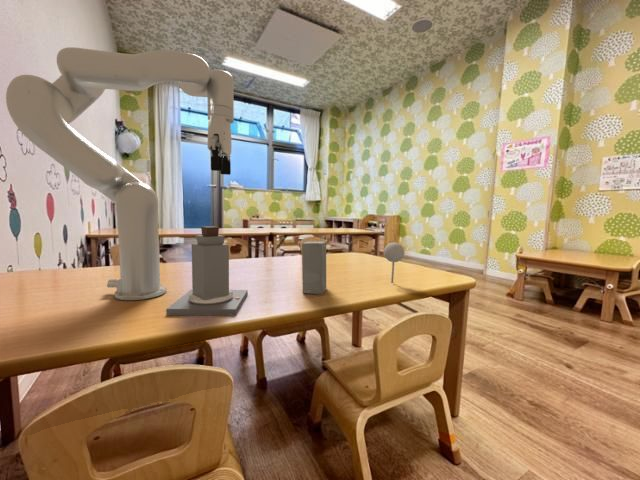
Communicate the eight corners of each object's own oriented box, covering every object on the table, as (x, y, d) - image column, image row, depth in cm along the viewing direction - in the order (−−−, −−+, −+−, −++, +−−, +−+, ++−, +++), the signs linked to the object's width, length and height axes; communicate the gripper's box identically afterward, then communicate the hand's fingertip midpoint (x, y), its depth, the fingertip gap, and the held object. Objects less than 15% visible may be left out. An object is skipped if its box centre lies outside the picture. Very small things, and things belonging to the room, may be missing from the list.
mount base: (166, 315, 66) (166, 304, 66) (191, 294, 82) (191, 286, 82) (235, 315, 68) (235, 305, 67) (247, 294, 84) (247, 286, 83)
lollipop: (404, 286, 99) (407, 244, 97) (384, 285, 99) (386, 243, 97) (399, 281, 106) (401, 241, 104) (380, 280, 106) (382, 240, 104)
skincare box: (322, 295, 85) (324, 243, 83) (299, 293, 87) (300, 242, 85) (327, 288, 93) (328, 240, 92) (306, 286, 95) (307, 239, 93)
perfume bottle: (228, 295, 75) (228, 227, 73) (203, 300, 70) (203, 228, 68) (216, 289, 79) (216, 225, 77) (192, 294, 75) (191, 226, 73)
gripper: (216, 123, 95) (217, 175, 97) (198, 104, 78) (199, 168, 80) (239, 124, 95) (239, 176, 97) (225, 106, 78) (226, 169, 80)
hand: (221, 172), depth 88 cm, fingers open, 9 cm apart
